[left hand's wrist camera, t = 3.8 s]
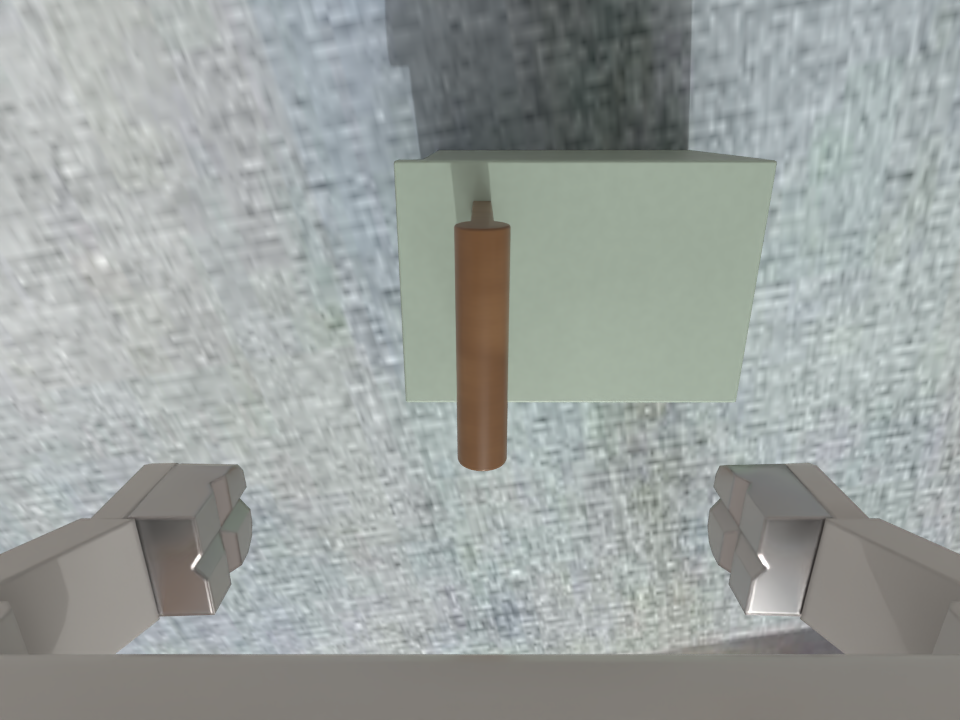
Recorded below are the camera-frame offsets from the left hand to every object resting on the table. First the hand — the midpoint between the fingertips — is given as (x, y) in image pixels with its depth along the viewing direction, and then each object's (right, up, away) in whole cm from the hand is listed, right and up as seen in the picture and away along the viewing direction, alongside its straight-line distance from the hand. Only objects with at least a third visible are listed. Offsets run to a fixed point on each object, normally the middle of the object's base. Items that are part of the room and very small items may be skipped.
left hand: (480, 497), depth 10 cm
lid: (+4, +5, +14) cm, 15 cm away
